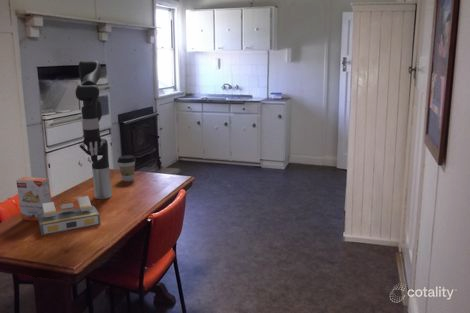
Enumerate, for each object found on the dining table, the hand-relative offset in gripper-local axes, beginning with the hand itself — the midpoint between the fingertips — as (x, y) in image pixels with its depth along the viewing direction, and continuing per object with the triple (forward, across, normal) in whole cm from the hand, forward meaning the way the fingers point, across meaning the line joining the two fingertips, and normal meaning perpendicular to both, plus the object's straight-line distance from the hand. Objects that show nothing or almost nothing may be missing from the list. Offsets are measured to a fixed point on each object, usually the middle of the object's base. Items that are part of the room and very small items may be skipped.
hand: (94, 162), depth 222 cm
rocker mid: (+19, +15, +4) cm, 25 cm away
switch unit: (+27, +15, +6) cm, 32 cm away
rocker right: (+20, +7, +4) cm, 21 cm away
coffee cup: (+29, -28, -56) cm, 69 cm away
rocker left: (+20, +23, +4) cm, 31 cm away
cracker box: (+28, +28, -9) cm, 41 cm away
